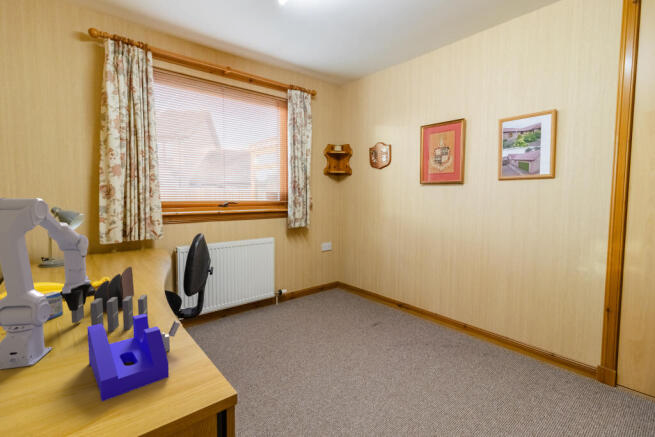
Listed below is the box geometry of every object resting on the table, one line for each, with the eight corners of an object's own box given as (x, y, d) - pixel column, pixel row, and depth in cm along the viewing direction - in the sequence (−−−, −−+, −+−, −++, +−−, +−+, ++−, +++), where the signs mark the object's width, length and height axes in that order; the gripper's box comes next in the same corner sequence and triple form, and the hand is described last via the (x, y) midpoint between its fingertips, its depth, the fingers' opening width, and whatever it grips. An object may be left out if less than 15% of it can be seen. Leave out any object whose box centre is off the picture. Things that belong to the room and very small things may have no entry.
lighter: (153, 354, 89) (152, 327, 88) (153, 352, 90) (151, 325, 90) (181, 347, 93) (180, 321, 92) (179, 345, 94) (178, 319, 94)
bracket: (89, 364, 84) (87, 326, 83) (146, 347, 93) (145, 313, 93) (102, 402, 69) (99, 356, 68) (168, 378, 78) (167, 337, 77)
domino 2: (97, 333, 102) (96, 303, 102) (91, 333, 102) (90, 303, 101) (103, 326, 107) (102, 298, 106) (98, 327, 107) (96, 298, 106)
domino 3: (113, 331, 104) (112, 301, 103) (107, 331, 103) (106, 302, 102) (118, 325, 108) (117, 296, 108) (113, 325, 108) (111, 297, 107)
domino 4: (129, 329, 105) (127, 300, 104) (123, 330, 104) (122, 300, 104) (133, 323, 110) (132, 295, 109) (128, 324, 109) (127, 296, 108)
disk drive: (96, 296, 141) (90, 288, 151) (96, 289, 141) (90, 282, 151) (67, 301, 134) (62, 293, 144) (66, 295, 133) (62, 287, 144)
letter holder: (134, 295, 141) (132, 264, 140) (124, 310, 123) (122, 274, 122) (107, 297, 137) (106, 266, 136) (93, 313, 119) (91, 277, 118)
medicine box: (40, 323, 110) (38, 298, 109) (30, 321, 111) (28, 297, 110) (63, 314, 118) (62, 291, 117) (54, 313, 119) (52, 291, 118)
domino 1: (77, 322, 107) (76, 293, 106) (72, 323, 107) (70, 294, 106) (84, 317, 112) (82, 289, 111) (78, 317, 112) (77, 290, 111)
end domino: (144, 328, 106) (143, 299, 106) (138, 328, 106) (137, 299, 105) (148, 322, 111) (147, 294, 110) (142, 322, 111) (141, 295, 110)
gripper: (79, 273, 102) (81, 313, 103) (97, 263, 116) (99, 299, 117) (53, 274, 100) (55, 316, 101) (74, 265, 114) (76, 301, 115)
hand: (77, 307), depth 109 cm, fingers closed on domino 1, 5 cm apart
